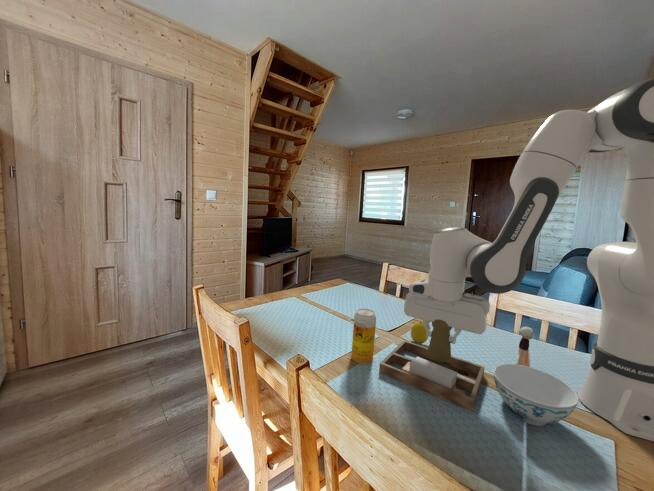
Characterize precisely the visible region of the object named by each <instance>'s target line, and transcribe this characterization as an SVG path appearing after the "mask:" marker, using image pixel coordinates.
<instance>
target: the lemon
mask: <svg viewBox="0 0 654 491" xmlns="http://www.w3.org/2000/svg"><path fill="white" fill-rule="evenodd" d="M410 328H411V329H410V337H411V340H412V341H413V343H416V344H417V343H418V344H424V343H426V342H427V341H428V338H429V336H426V329H425V327H424V325H423V320H422V321H421V320H420V321H417V322H415V323H413V324H412V327H410Z"/></svg>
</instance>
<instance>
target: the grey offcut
mask: <svg viewBox="0 0 654 491" xmlns="http://www.w3.org/2000/svg"><path fill="white" fill-rule="evenodd" d="M412 360H413V361H412V362H410V368H409V371H410V372H413V373H415V374H417V375H419V376H422V377H424V378H426V379H428V380H431V381H433V382H435V383H437V384H440V385H442V386H444V387H446V388H449V389H451V388H452V386H453V385H454V383H455V382H456V379H457V376H458V372H457V371H456V370H455V371H454V370H452V369H449V368H447V367H445V366H443V365H441V364H437V363H435V362H432V361H430V360H428V359H424V358H422V357H419V356H416V357H415V358H413V359H412Z"/></svg>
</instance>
